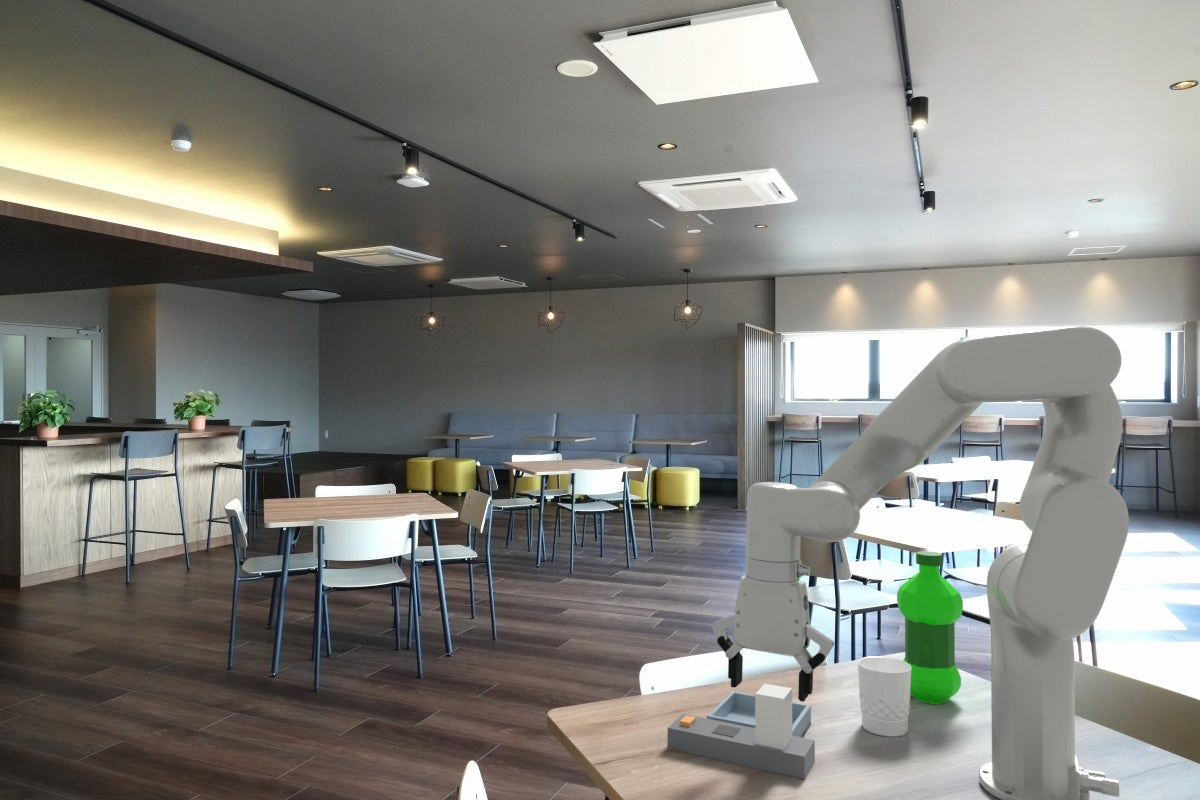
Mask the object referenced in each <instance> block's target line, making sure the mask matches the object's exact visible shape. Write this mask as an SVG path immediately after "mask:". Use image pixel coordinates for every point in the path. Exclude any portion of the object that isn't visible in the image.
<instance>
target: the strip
mask: <svg viewBox="0 0 1200 800" xmlns="http://www.w3.org/2000/svg"><path fill="white" fill-rule="evenodd" d="M815 744H816V743H815V739H811V738H806V737H797V736H792V739H791V740H790V742H789V743H788V745H787V746H786V748H785V749H784V750H781V749H776V748H772V747H767V746H762V745H757V744H755V728H751V727H746V726H741V725H736V724H731V723H726V722H721V721H716V720H711V719H707V717H701V716H694V715H691V714H686V713H682V714H681V715H680V716H679V717H677V719H676V720H674V721H673V722H672V723H671V724H670V725H669V726H668V727H667V749H668V748H671V749H670V750H673V749H675V750H674V751H678V752H681V753H682V752H683V753H686V754H687V753H688V754H692V755H695V756H700V757H705V758H709V759H713V760H718V761H721V762H727V763H732V764H736V765H740V766H745V767H747V768H748V767H749V768H753V769H759V770H764V771H766V772H771V773H776V774H781V775H784V776H789V777H793V778H797V779H803V780H805V779H807V778H806V777H807V776H808V775H809V773H810V771H811V769H812V767H813V765H814V764H815V762H816V755H815V754H816V753H815V750H816V745H815Z"/></svg>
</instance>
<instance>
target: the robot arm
mask: <svg viewBox="0 0 1200 800" xmlns="http://www.w3.org/2000/svg"><path fill="white" fill-rule="evenodd" d="M1121 367H1122V355H1121V350H1120V348H1119V345H1118V344H1117V342H1116V341H1115V340H1114V338H1113V337H1111V336H1110V335H1109V334H1107V333H1106V332H1104V331H1102V330H1101V329H1098V328H1095V327H1091V326H1085V325H1083V326H1082V325H1076V326H1075V325H1074V326H1065V327H1056V328H1047V329H1037V330H1029V331H1028V330H1027V331H1019V332H1011V333H1010V332H1008V333H997V334H984V335H976V336H975V335H973V336H968V337H964V338H962V339H960V340H957V341H955V342H952V343H951V344H948V345H947V346H946V347H945V348H943V349H942V350H941V351H940V352H938V353H937V354H936V355H935V356H934V357H933V359H931V360H930V361H929V362H928V363H927V365H926V366H925V367H924V368H923V369H922V370H921V371H920V372H919V373H918V374H917V375H916V376H915V377H914V378H913V379H912V380H911V381H910V382H909V383H908V384H907V385H906V386H905V388H903V390H902V391H901V392H900V393H898V395H897V396H896V397H895V398H894V399H893V400H892V401H891V402H890V403H889V404H888V405H887V406H886V407H885V408H883V410H882V411H881V412H880V413H879V414H878V415H877V416H876V417H875V418H874V419H873V420H872V421H871V422H870V424H868V426H866V428H865V429H863V431H862V433H861V434H860V435H859V436H858V437H857V438H856V439H855V440H854V441H853V442H852V443H851V444H850V445H849V446H848V447H847V448H846V449H845V450H844V451H843V452H842V453H841V454H840V455H839V456H838V457H837V458H836V459H835V460H834V461H833V462H832V464H831V465H830V466H828V468H826V469H825V471H824V472H823V473H821V475H820V476H818V478H817V479H816V480H815V481H813V483H812V484H811V485H810V486H809V487H798V486H796V485H794V484H793V483H792V484H791V483H787V482H776V481H764V482H763V481H762V482H755V483H753V484H752V485H750V486H749V488H748V490H747V503H746V537H745V539H746V542H745V543H746V545H745V571H744V572H745V574H743V575H742V576H741V577H740V581H739V584H738V588H737V589H738V590H737V593H736V594H737V595H736V601H735V607H734V608H735V609H734V614H732V615H729V616H727V617H723V618H721V619H719V620H718V619H717V620H716V621H714V622H713V623H712V624H711V625H710V626H711V629H712V632H713V634H714V636H715V638H716V642H717V645H718V646H719V647H720V648H721V649H722V651H723V652H724V653H725V657H726V658H728V662H727V663H728V665H727V667H728V669H727V678H728V679H730V687H731V688H733V689H734V688H737V687H738V686H739V685H740V684H741V683H742V682H743V664H744V659H743V658H744V656H743V654H741V651H742V650H743V649H746V650H752V651H757V652H763V653H768V654H775V655H779V656H786V657H793V658H794V659H795V661H796V662H797V663H798V664H799V666H800V668H801V670H800V671H799V672H798V690H797V692H798V695H797V696H798V701H800V702H803V703H804V702H805V701H806V699H807V698H808V697H809V695H810V696H811V695H812V694H813V690H814V689H813V686H814V684H813V683H814V670H815V669H816V668H817V667H819V666H820V665H821V664H823V663H824V661H825V660H826V659H827V657H828V655H829V654H830V652H831V650H832V649H833V648H834V645H835V642H834V641H833V640H832V639H831V638H830V637H828V636H826V635H825V634H824V633H822V632H821V631H820V630H818V629H816V628H815V627H813V626H812V625H811V621H810V620H811V619H810V603H809V596H808V589H807V584H806V581H804V580H801V578H802V577H804V576H805V577H810V575H811V566H808V565H805V564H803V562H802V559H801V537H804V538H809V539H813V540H818V541H824V542H839V541H843V540H845V539H847V538H849V537H850V536H852V535H853V534H854V533H855V532H856V531H857V529H858V527H859V524H860V521H861V520H860V519H861V513H860V512H861V511H860V510H862V508H863V507H864V506H865V505H866V504H867V503H869V501H870V500H871V499H872V498H873V497H874V496H875V495H876V494H878V493H879V491H880V490H881V489H883V488H884V487H885V486H886V485H887V484H888V483H890V482H891V481H893V479H895V478H896V477H898V476H900V475H901V474H903V473H905V472H907V471H909V470H911V469H914V468H915V467H918V465H920V464H922V463H923V462H924V461H925V460H927V459H929V458H930V456H931V455H932V454H933V453H934V452H936V450H937V449H938V448H939V447H940V446H941V445H943V443H944V442H945V441H946V440H947V439H948V437H950V436H951V435H952V434H953V433H954V432H955V430H956V429H958V427H959V426H961V424H963V423H964V422H965V421H966V420H967V419H968V418H969V417H970V416H971V415H972V414H973V413H974V412H975V411H976V410H977V409H978V408H979V407H980V406H981V405H982V404H983V403H1003V402H1004V403H1005V402H1019V401H1020V402H1022V401H1034V400H1040V401H1041V403H1042V406H1043V408H1044V414H1045V423H1044V428H1043V432H1042V436H1041V439H1040V440H1041V441H1040V444H1039V448H1038V450H1037V453H1036V456H1035V459H1034V461H1033V465H1032V466H1031V471H1030V473H1029V475H1028V478H1027V481H1026V484H1025V486H1024V488H1023V491H1022V493H1021V497H1020V500H1019V514H1020V517H1021V519H1022V521H1023V524H1025V526H1026V527H1027V528H1028V529H1029V530H1030V531H1031V532H1032V533H1031V534H1030V537H1029V538H1030V539H1029V541H1028V544H1027V545H1018V546H1013V547H1009V548H1008V549H1005V550H1003V551H1002V552H1000V553H999V554H998V555H997V556H995V558H994V560H993V561H992V563H991V565H990V567H989V569H988V572H987V577H986V595H987V607H988V615H989V624H990V626H989V627H990V642H991V643H990V644H991V645H990V648H991V649H990V650H991V658H990V659H991V664H990V665H991V666H990V671H991V672H990V673H991V674H990V676H991V679H990V682H991V689H990V690H991V692H990V695H991V698H990V699H991V704H990V706H991V762H987V763H984V764H983V765H982V766H981V767H980V768H979V770H978V779H979V783H980V784H981V786H982V788H983V789H985V790H986V791H987V792H988V793H989V794H991V795H993V796H994V797H995V798H997V799H999V800H1091V797H1090V792H1095V793H1100V794H1102V795H1106V796H1110V797H1115V798H1120V783H1119V780H1117V779H1111V778H1106V773H1105V772H1103V771H1098V770H1090V769H1084V766H1082V765H1081V766H1080V765H1079V762H1078V757H1077V756H1078V755H1076V733H1075V732H1076V730H1075V728H1076V727H1075V726H1076V725H1075V724H1076V723H1075V722H1076V721H1075V720H1076V719H1075V717H1076V715H1075V714H1076V712H1075V711H1076V709H1075V708H1076V707H1075V705H1076V703H1075V701H1076V700H1075V677H1076V675H1075V673H1076V670H1075V667H1076V666H1075V649H1074V638H1077V637H1079V636H1081V635H1083V634H1084V633H1085V632H1087V631H1088V630H1089V629H1090V628H1091V626H1092V625H1093V624H1094V623H1095V622H1096V619H1097V618H1098V616H1099V614H1100V612H1101V610H1102V608H1103V605H1104V603H1105V601H1106V597H1107V595H1108V591H1109V590H1110V587H1111V585H1112V581H1113V578H1114V576H1115V574H1116V573H1115V572H1116V570H1117V567H1118V565H1119V561H1120V559H1121V555H1122V553H1123V550H1124V547H1125V545H1126V541H1127V538H1128V535H1129V526H1130V525H1129V523H1130V519H1129V518H1130V517H1129V510H1128V507H1127V504H1126V502H1125V500H1124V498H1123V495H1122V494H1121V493H1120V491H1118V490H1117V489H1116V487H1114V485H1112V484H1110V483H1109V481H1110V478H1111V475H1112V471H1113V468H1114V466H1115V463H1116V462H1115V461H1116V458H1117V454H1118V451H1119V447H1120V444H1121V440H1122V439H1121V438H1122V434H1123V416H1122V410H1121V406H1120V404H1119V400H1118V397H1117V395H1116V393H1115V391H1114V389H1113V387H1112V386H1111V384H1112V383H1113V382H1114V380H1115V379H1117V377H1118V375H1119V373H1120V371H1121ZM731 626H733V630H732V632H733V637H732V638H733V641H734V642H733V641H732V640H731V639H730V637H729V636H728V635H727V634H726V628H729V627H731ZM811 641H813V642H814V643H816V644H817V645H818V646H819V649H818V652H817V653H815V655H813V656H812V655H811V653H810V652H809V650H808V648H809V646H810V642H811Z"/></svg>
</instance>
